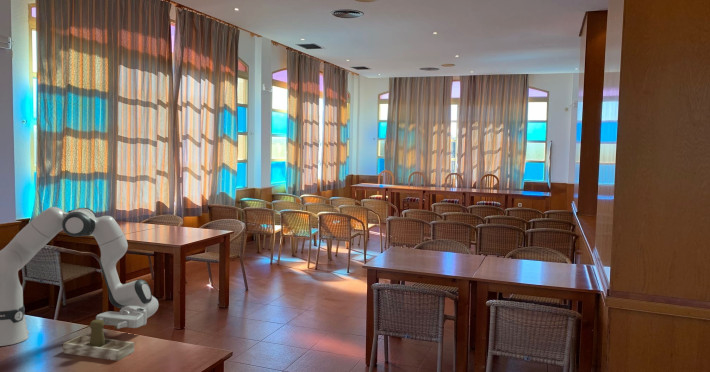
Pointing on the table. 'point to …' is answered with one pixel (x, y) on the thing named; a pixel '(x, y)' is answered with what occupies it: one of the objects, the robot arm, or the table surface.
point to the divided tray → (99, 348)
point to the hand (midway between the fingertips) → (106, 325)
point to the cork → (97, 333)
